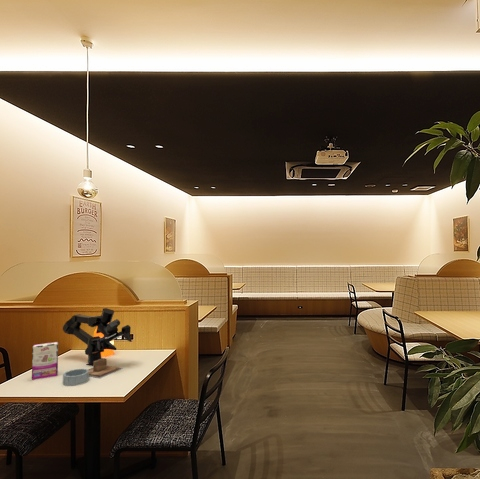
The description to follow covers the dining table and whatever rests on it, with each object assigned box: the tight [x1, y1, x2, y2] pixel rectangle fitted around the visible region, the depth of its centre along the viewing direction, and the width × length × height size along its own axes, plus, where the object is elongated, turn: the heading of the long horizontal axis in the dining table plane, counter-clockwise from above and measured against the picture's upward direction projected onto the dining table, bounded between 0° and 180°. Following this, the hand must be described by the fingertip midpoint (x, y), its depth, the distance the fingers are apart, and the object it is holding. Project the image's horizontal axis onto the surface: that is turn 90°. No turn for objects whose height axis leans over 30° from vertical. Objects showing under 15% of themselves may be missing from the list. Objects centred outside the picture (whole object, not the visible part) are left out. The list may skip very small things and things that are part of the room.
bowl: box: [62, 368, 90, 387], centre depth 155 cm, size 11×11×4 cm
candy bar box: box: [31, 341, 59, 381], centre depth 164 cm, size 11×5×16 cm, turn 118°
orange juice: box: [93, 327, 115, 358], centre depth 201 cm, size 8×9×20 cm
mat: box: [89, 367, 123, 379], centre depth 169 cm, size 16×16×1 cm
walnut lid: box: [88, 357, 120, 377], centre depth 169 cm, size 13×13×6 cm
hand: (123, 345), depth 171 cm, fingers open, 9 cm apart
